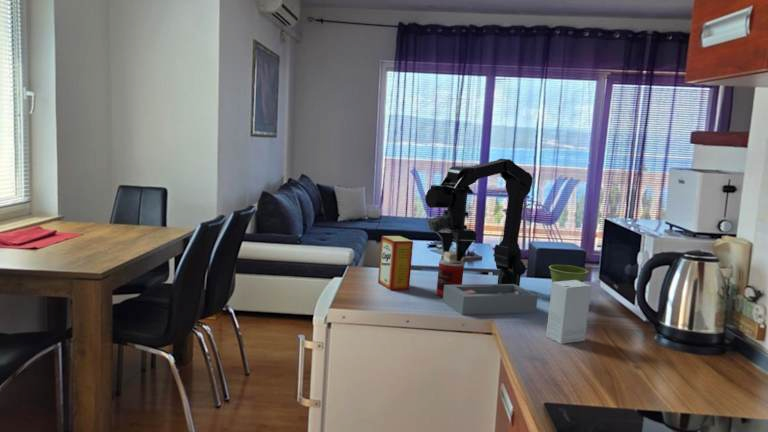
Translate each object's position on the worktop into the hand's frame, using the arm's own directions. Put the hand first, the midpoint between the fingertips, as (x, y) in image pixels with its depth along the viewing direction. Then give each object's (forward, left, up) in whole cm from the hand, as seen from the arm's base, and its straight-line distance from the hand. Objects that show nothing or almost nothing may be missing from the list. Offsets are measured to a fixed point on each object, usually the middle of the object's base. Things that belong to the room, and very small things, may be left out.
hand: (451, 257), depth 188 cm
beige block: (-1, 0, -1) cm, 1 cm away
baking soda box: (+14, -12, -12) cm, 22 cm away
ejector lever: (-8, +13, -10) cm, 18 cm away
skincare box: (-13, +42, -12) cm, 46 cm away
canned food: (0, 0, -12) cm, 12 cm away
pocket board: (-7, +13, -12) cm, 19 cm away
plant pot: (-35, +11, -12) cm, 39 cm away
